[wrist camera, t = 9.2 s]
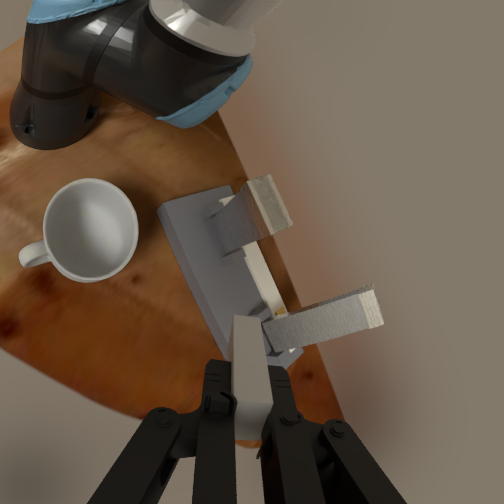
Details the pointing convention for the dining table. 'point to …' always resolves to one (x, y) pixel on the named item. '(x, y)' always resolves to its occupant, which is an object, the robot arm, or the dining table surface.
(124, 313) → the dining table surface
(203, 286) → the grey stand base
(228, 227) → the lever inner
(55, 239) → the teacup
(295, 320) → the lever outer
